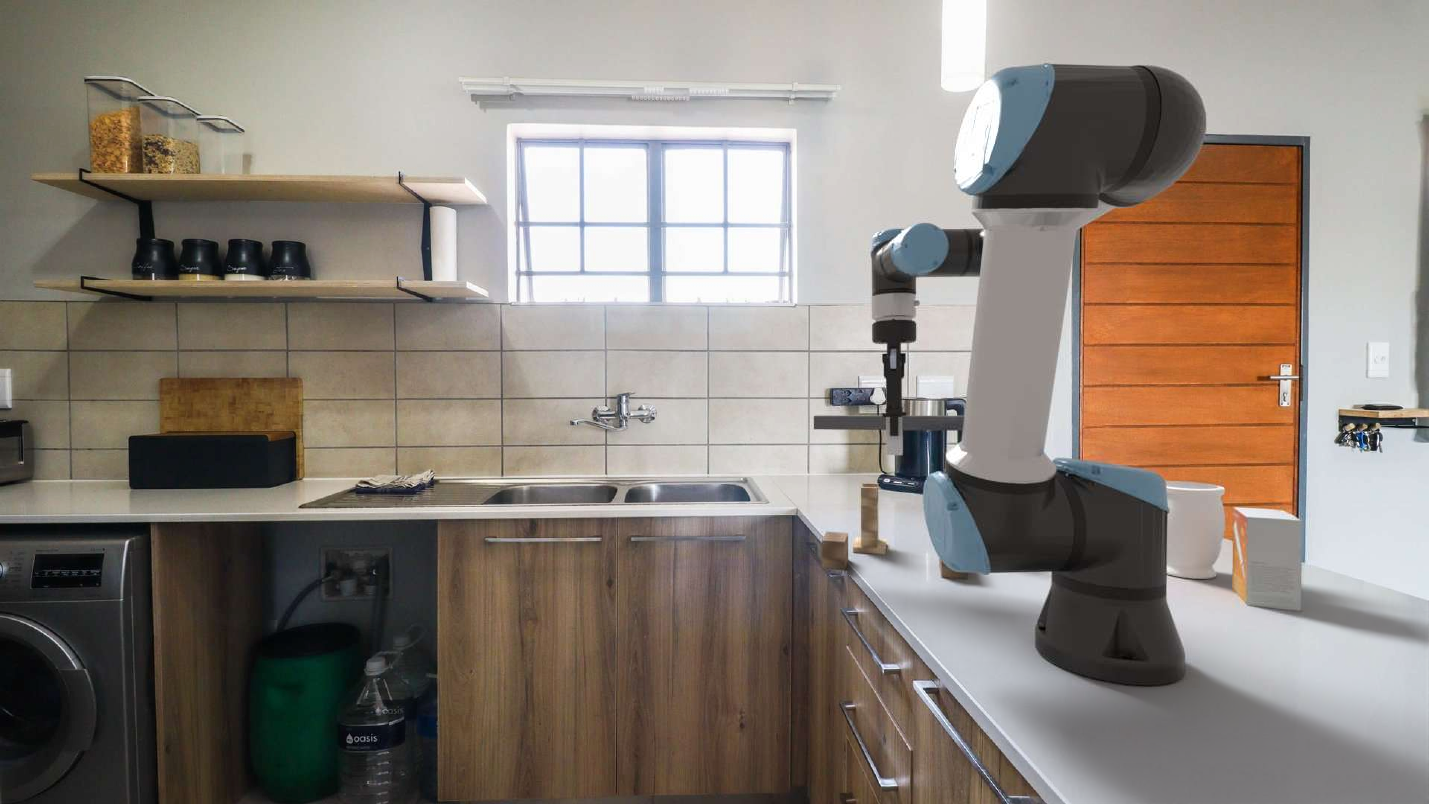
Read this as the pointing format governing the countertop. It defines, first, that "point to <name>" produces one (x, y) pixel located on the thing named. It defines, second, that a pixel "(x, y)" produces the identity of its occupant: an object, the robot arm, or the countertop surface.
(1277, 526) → the small box
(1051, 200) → the robot arm
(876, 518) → the hook stand
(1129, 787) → the countertop surface
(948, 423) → the rail
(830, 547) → the block
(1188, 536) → the jar
